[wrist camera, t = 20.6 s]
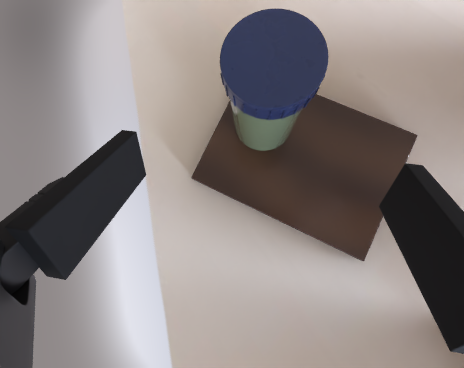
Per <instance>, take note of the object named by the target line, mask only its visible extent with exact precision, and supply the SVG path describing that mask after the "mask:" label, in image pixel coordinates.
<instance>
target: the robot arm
mask: <svg viewBox="0 0 464 368" xmlns="http://www.w3.org/2000/svg"><path fill="white" fill-rule="evenodd" d="M145 176H146V172H145V168H144V163H143V159H142V155H141V150H140V146H139V142H138V138H137V133H136V132H133V131H125V130H122V131H121V132H119V133H118V134H117V135H116V136H114V137H113V138H112V139H111V140H110V141H108V142H107V143H106V144H105V145H103V146H102V147H101V148H100V149H99V150H97V151H96V152H95V153H94V154H93V155H91V156H90V157H89V158H88V159H87V160H85V161H84V162H83V163H82V164H80V165H79V166H78V167H77V168H75V169H74V170H73V171H72V172H71V173H69V174H68V175H67V176H66V177H64V178H63V177H62V178H60V179H58V180H56V181H54V182H52V183H50V184H48V185H47V186H46V187H44V188H43V189H42V190H40V191H39V192H38V194H36V195H34V196H33V197H31V198H30V199H29V201H28V202H25V203H24V204H23V205H21V206H20V207H19V208H18V209H16V210H15V211H14V212H13V213H11V214H10V215H9V216H7V217H6V218H5V219H4V220H2V221H1V222H0V368H32V364H33V363H32V362H33V339H34V317H35V316H34V315H35V293H36V280H35V276H34V275H33V274H34V273H35V271H36V270H37V269H38V268H40V269H41V270H42V271H43V272H44V274H45V275H46V276H48V277H53V278H59V279H64V280H66V279H67V278H68V276H69V275H70V274H71V272H72V271H73V270H74V269H75V267H76V266H77V265H78V263H79V262H80V261H81V259H82V258H83V257H84V255H85V254H86V253H87V252H88V250H89V249H90V248H91V246H92V245H93V244H94V242H95V241H96V240H97V238H98V237H99V236H100V235H101V233H102V232H103V231H104V229H105V228H106V227H107V225H108V224H109V223H110V221H111V220H112V219H113V218H114V216H115V215H116V214H117V212H118V211H119V210H120V208H121V207H122V206H123V204H124V203H125V202H126V200H127V199H128V198H129V197H130V195H131V194H132V193H133V191H134V190H135V189H136V187H137V186H138V185H139V183H140V182H141V181H142V180H143V178H144V177H145ZM379 208H380V210H381V212H382V214H383V216H384V218H385V220H386V222H387V224H388V226H389V228H390V230H391V232H392V234H393V236H394V238H395V240H396V242H397V244H398V246H399V248H400V250H401V252H402V254H403V256H404V259H405V261H406V263H407V265H408V267H409V269H410V271H411V273H412V275H413V277H414V279H415V281H416V283H417V285H418V287H419V289H420V291H421V293H422V295H423V297H424V299H425V301H426V303H427V305H428V307H429V309H430V311H431V313H432V315H433V317H434V319H435V321H436V323H437V325H438V327H439V329H440V331H441V333H442V336H443V338H444V340H445V342H446V344H447V346H448V348H449V350H450V351H452V352H457V353H462V354H464V211H463V210H462V209H461V208H460V207H459V206H458V205H457V204H456V202H455V201H454V200H453V199H452V198H451V197H450V196H449V195H448V193H447V192H446V191H445V190H444V189H443V188H442V187H441V186H440V184H439V183H438V182H437V181H436V180H435V179H434V178H433V176H432V175H431V174H430V173H429V172H428V171H427V170H426V169H425V167H424V166H423V165H415V164H406V163H405V164H404V166H403V168H402V169H401V171H400V172H399V174H398V176H397V177H396V179H395V181H394V182H393V184H392V185H391V187H390V189H389V190H388V192H387V194H386V195H385V197H384V198H383V200H382V202H381V203H380V205H379Z"/></svg>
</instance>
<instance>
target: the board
mask: <svg viewBox="0 0 464 368" xmlns="http://www.w3.org/2000/svg"><path fill="white" fill-rule="evenodd" d="M416 138H417V135H416V134H414V133H411V132H409V131H406V130H404V129H401V128H399V127H396V126H394V125H391V124H389V123H386V122H384V121H381V120H379V119H376V118H374V117H371V116H369V115H366V114H364V113H361V112H359V111H356V110H354V109H351V108H349V107H347V106H344V105H342V104H339V103H337V102H334V101H332V100H329V99H327V98H324V97H322V96H319V95H317V94H316V95H315V96H314V98H312V99H311V100H310V102H309V103H308V104H307V106H306V107H304V108H303V109H302V111H301V113H300V115H299V117H298V119H297V121H296V123H295V125H294V127H293V129H292V131H291V133H290V134H289V136H288V138H287V139H286V141H285V142H284V143H283V144H281V145H280V146H278V147H277V148H274V149H271V150H267V151H260V150H255V149H252V148H250V147H248V146H246V145H245V144H244V143H243V142H242V141H241V140H240V139H239V137H238V135H237V133H236V130H235V124H234V118H233V113H232V107H231V101H230V102H229V104H228V106H227V108H226V110H225V112H224V114H223V116H222V118H221V120H220V122H219V124H218V126H217V128H216V130H215V132H214V134H213V136H212V138H211V140H210V142H209V144H208V146H207V148H206V150H205V152H204V154H203V156H202V158H201V160H200V162H199V164H198V166H197V168H196V170H195V172H194V173H193V175H192V177H191V178H192V179H194V180H196V181H198V182H200V183H202V184H204V185H206V186H208V187H210V188H212V189H214V190H216V191H218V192H220V193H223V194H225V195H227V196H229V197H231V198H233V199H235V200H237V201H239V202H241V203H243V204H245V205H247V206H249V207H252V208H254V209H256V210H258V211H260V212H262V213H264V214H266V215H268V216H270V217H272V218H274V219H276V220H278V221H281V222H283V223H285V224H287V225H289V226H291V227H293V228H295V229H297V230H299V231H301V232H303V233H305V234H307V235H310V236H312V237H314V238H316V239H318V240H320V241H322V242H324V243H326V244H328V245H330V246H332V247H334V248H336V249H339V250H341V251H343V252H345V253H347V254H349V255H351V256H353V257H355V258H357V259H359V260H362V261H364V260H365V257H366V255H367V253H368V250H369V248H370V246H371V243H372V241H373V239H374V236H375V234H376V232H377V229H378V227H379V224H380V222H381V220H382V217H383V214H382V212H381V210H380V208H379V205H380V203H381V202H382V200H383V198H384V197H385V195H386V194H387V192H388V190H389V189H390V187H391V185H392V184H393V182H394V181H395V179H396V177H397V176H398V174H399V172H400V171H401V169H402V168H403V166H404V164H405V163H406V161H407V159H408V156H409V154H410V152H411V149H412V147H413V145H414V142H415V140H416Z"/></svg>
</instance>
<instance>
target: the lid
mask: <svg viewBox="0 0 464 368" xmlns="http://www.w3.org/2000/svg"><path fill="white" fill-rule="evenodd" d="M327 66H328V49H327V44H326V41H325V39H324V37H323V35H322V33H321V31H320V30H319V29H318V27H317V26H316V25H315V24H314V23H313V22H312V21H310V20H309V19H308V18H306V17H305V16H303V15H301V14H299V13H296V12H294V11H290V10H285V9H267V10H261V11H258V12H255V13H253V14H251V15H248V16H247V17H245V18H243V19H242V20H241V21H239V22H238V23H237V24H236V25H235V26H234V27H233V28H232V29H231V31H230V32H229V33H228V35H227V37H226V38H225V40H224V43H223V45H222V49H221V54H220V67H221V78H222V83H223V85H224V87H225V90H226V94H227V96H228V97H229V98H230V100H231V101H232V102H233V104H234V106H236V107H237V108H238V109H240V110H241V111H242V112H243V113H244V114H245V113H246V114H248V115H250V116H252V117H255V118H259V119H265V120H276V119H283V118H285V117H288V116H291V115H293V114H294V115H295V113H297V112H298V111H300V110H301V109H302V108H304V107H306V106H307V104H308V103H309V102H310V100H311V99H312V98H314V96H315V95H316V93H317V91H318V89H319V86H320V84H321V82H322V80H323V78H324V77H325V73H326V70H327Z"/></svg>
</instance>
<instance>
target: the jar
mask: <svg viewBox="0 0 464 368" xmlns="http://www.w3.org/2000/svg"><path fill="white" fill-rule="evenodd" d="M230 101H231V100H230ZM231 107H232V113H233V118H234V124H235V130H236V133H237V135H238V137H239V139H240V140H241V141H242V142H243V143H244V144H245V145H246V146H248V147H250V148H252V149H255V150H260V151H267V150H271V149H274V148H277V147H278V146H280V145H281V144H283V143H284V142H285V141H286V139H287V138H288V136H289V134H290V133H291V131H292V129H293V127H294V125H295V123H296V121H297V119H298V117H299V115H300V113H301V111H302V109H303V108H302V109H301V110H300V111H298V112H297V113H295V115H294V114H293V115H291V116H288V117H285V118H283V119H276V120H265V119H259V118H255V117H252V116H250V115H248V114H246V113H245V114H244V113H243V112H242V111H241V110H240V109H238V108H237V107H236V106H234V104H233V102H232V101H231Z"/></svg>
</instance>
